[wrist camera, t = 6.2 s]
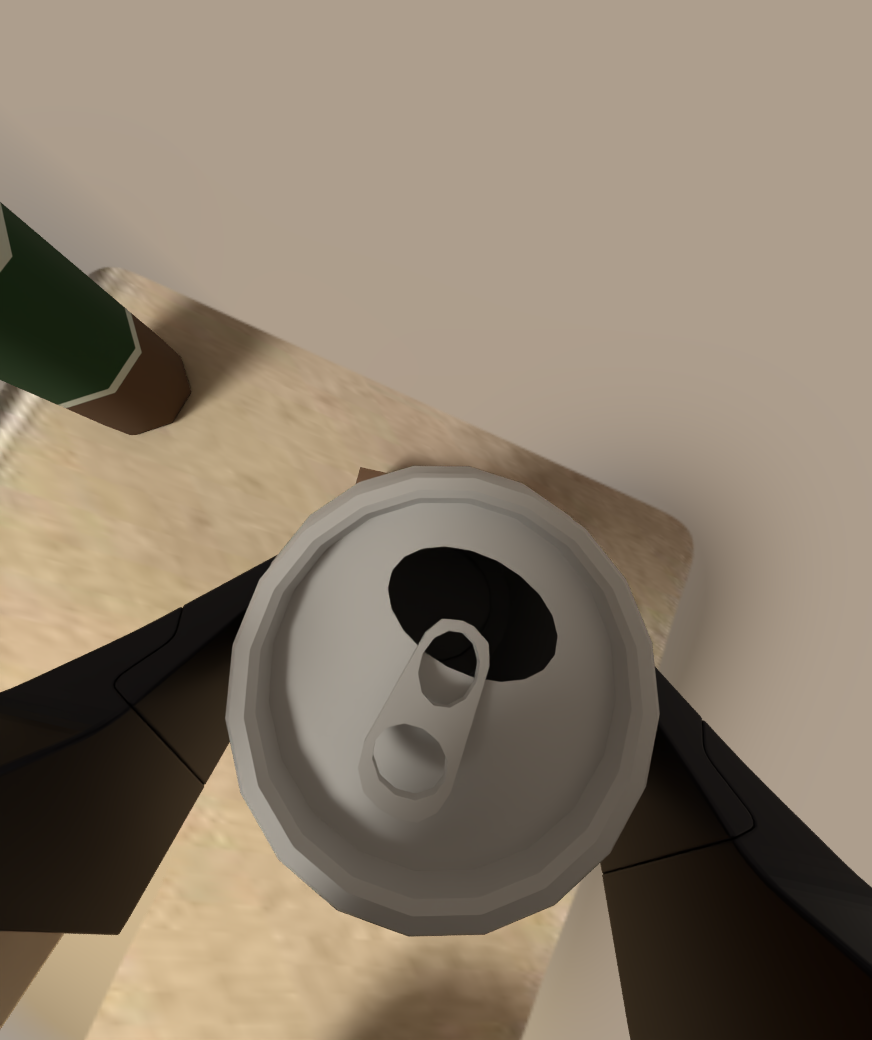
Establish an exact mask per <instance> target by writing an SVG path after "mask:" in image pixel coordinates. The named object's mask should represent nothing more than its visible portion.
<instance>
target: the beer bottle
mask: <svg viewBox="0 0 872 1040" xmlns="http://www.w3.org/2000/svg"><path fill="white" fill-rule="evenodd" d="M0 380H2V381H4V382H6V383H9V384H11V385H13V386H16V387H18V388H20V389H23V390H25V391H27V392H29V393H32V394H34V395H36V396H39V397H41V398H43V399H46V400H48V401H50V402H52V403H55V404H57V405H59V406H62V407H64V408H66V409H69V410H71V411H73V412H75V413H78V414H80V415H82V416H85V417H87V418H89V419H92V420H94V421H96V422H98V423H101V424H103V425H105V426H108V427H111V428H113V429H116V430H119V431H121V432H124V433H127V434H129V435H136V434H139V433H142V432H145V431H149V430H152V429H155V428H158V427H161V426H164V425H167V424H170V423H172V422H173V421H174V419H175V417H176V416H177V414H178V413H179V411H180V409H181V408H182V406H183V404H184V403H185V401H186V400H187V398H188V396H189V395H190V393H191V390H190V387H189V383H188V380H187V376H186V373H185V369H184V366H183V363H182V360H181V357H180V356H179V355H178V354H177V353H176V352H175V351H174V350H173V349H172V348H171V347H170V346H168V345H167V344H166V343H165V342H164V341H163V340H162V339H161V338H160V337H159V336H157V335H156V334H155V333H154V332H153V331H152V330H150V329H149V328H148V327H147V326H146V325H145V324H143V323H142V322H141V321H140V320H139V319H137V318H136V317H135V316H134V315H133V314H132V313H130V312H129V311H128V310H127V309H126V308H125V307H123V306H122V305H121V304H120V303H119V302H117V301H116V300H115V299H114V298H113V297H112V296H110V295H109V294H108V293H107V292H106V291H104V290H103V289H102V288H101V287H100V286H99V285H97V284H96V283H95V282H94V281H93V280H92V279H90V278H89V277H88V276H87V275H86V274H84V273H83V272H82V271H81V270H79V268H77V267H76V266H75V265H74V264H73V263H71V262H70V261H69V260H68V259H67V258H66V257H64V256H63V255H62V254H61V253H60V252H58V251H57V250H56V249H55V248H54V247H53V246H51V245H50V244H49V243H48V242H47V241H46V240H44V239H43V238H42V237H41V236H40V235H39V234H37V233H36V232H35V231H34V230H33V229H31V228H30V227H29V226H28V225H27V224H26V223H24V222H23V221H22V220H21V219H20V218H18V217H17V216H16V215H15V214H14V213H12V212H11V211H10V210H9V209H8V208H7V207H6V206H4V205H3V204H2V203H1V202H0Z"/></svg>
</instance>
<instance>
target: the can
mask: <svg viewBox="0 0 872 1040" xmlns="http://www.w3.org/2000/svg"><path fill="white" fill-rule="evenodd" d="M659 715H660V713H659V703H658V694H657V684H656V674H655V665H654V655H653V646H652V641H651V639H650V636H649V634H648V631H647V629H646V626H645V624H644V622H643V619H642V617H641V614H640V612H639V609H638V607H637V604H636V602H635V600H634V597H633V595H632V592H631V590H630V587H629V585H628V582H627V580H626V579H625V577H624V576H623V575H622V573H621V572H620V571H619V570H618V568H617V567H616V566H615V565H614V563H613V562H612V561H611V560H610V558H609V557H608V556H607V555H606V553H605V552H604V551H603V550H602V548H601V547H600V546H599V545H598V543H597V542H596V541H595V540H594V538H593V537H592V536H591V535H590V533H589V532H588V531H587V530H586V528H584V527H583V526H581V525H580V524H579V523H577V522H576V521H574V520H573V519H572V518H571V517H570V516H569V515H568V514H566V513H565V512H563V511H562V510H561V509H559V508H558V507H556V506H555V505H553V504H552V503H550V502H549V501H548V500H546V499H545V498H543V497H542V496H540V495H539V494H537V493H536V492H535V491H533V490H532V489H530V488H529V487H527V486H526V485H524V484H523V483H520V482H517V481H514V480H511V479H507V478H504V477H501V476H498V475H495V474H492V473H489V472H486V471H482V470H479V469H476V468H473V467H470V466H411V467H408V468H404V469H401V470H398V471H394V472H391V473H388V474H385V475H381V476H378V477H375V478H371V479H368V480H365V481H361V482H358V483H357V484H355V485H354V486H352V487H351V488H350V489H348V490H347V491H345V492H344V493H342V494H341V495H339V496H338V497H336V498H335V499H333V500H332V501H330V502H329V503H327V504H326V505H324V506H323V507H321V508H320V509H318V510H317V511H315V512H314V513H312V514H311V515H310V516H309V517H308V518H307V519H306V521H305V522H304V523H303V524H302V526H301V527H300V528H299V529H298V530H297V532H296V533H295V534H294V535H293V537H292V538H291V539H290V540H289V542H288V543H287V544H286V545H285V546H284V548H283V549H282V550H281V551H280V553H279V554H278V555H277V556H276V558H275V559H274V560H273V561H272V562H271V565H270V567H269V568H268V570H267V571H266V572H265V573H264V575H263V576H262V577H261V578H260V580H259V582H258V584H257V587H256V589H255V592H254V594H253V597H252V599H251V601H250V604H249V606H248V609H247V611H246V613H245V616H244V618H243V621H242V623H241V626H240V628H239V630H238V633H237V635H236V638H235V640H234V643H233V646H232V656H231V666H230V676H229V686H228V696H227V706H226V716H225V719H226V724H227V729H228V734H229V739H230V744H231V749H232V754H233V759H234V763H235V768H236V773H237V778H238V783H239V788H240V793H241V795H242V796H243V798H244V800H245V802H246V803H247V805H248V807H249V809H250V810H251V812H252V814H253V816H254V817H255V819H256V821H257V823H258V824H259V826H260V828H261V830H262V831H263V833H264V835H265V837H266V838H267V840H268V842H269V844H270V845H271V847H272V849H273V851H274V853H275V854H276V856H277V858H278V860H279V861H281V862H282V863H283V864H284V865H285V866H286V867H287V868H289V869H290V870H291V871H292V872H293V873H294V874H296V875H297V876H298V877H299V878H300V879H301V880H303V881H304V882H305V883H306V884H307V885H308V886H309V887H311V888H312V889H313V890H314V891H315V892H316V893H318V894H319V895H320V896H321V897H322V898H323V899H325V900H326V901H327V902H328V903H329V904H330V905H331V906H333V907H334V908H335V909H336V910H338V911H340V912H343V913H346V914H349V915H351V916H354V917H357V918H359V919H362V920H365V921H368V922H370V923H373V924H376V925H379V926H381V927H384V928H387V929H390V930H392V931H395V932H398V933H401V934H403V935H406V936H447V935H485V934H487V933H489V932H492V931H494V930H497V929H499V928H501V927H504V926H506V925H508V924H511V923H513V922H516V921H518V920H520V919H523V918H525V917H527V916H530V915H532V914H535V913H537V912H539V911H542V910H544V909H547V908H549V907H551V906H554V905H555V904H556V903H557V902H558V901H560V900H561V899H562V898H563V897H564V896H565V895H566V894H567V893H568V892H569V891H570V890H571V889H572V888H573V887H575V886H576V885H577V884H578V883H579V882H580V881H581V880H582V879H583V878H584V877H585V876H586V875H587V874H588V873H589V872H591V871H592V870H593V869H594V868H595V867H596V866H597V865H598V864H599V863H600V862H601V861H602V860H603V859H605V858H606V857H607V856H608V855H609V854H610V853H611V851H612V849H613V847H614V845H615V843H616V841H617V840H618V838H619V836H620V834H621V832H622V830H623V828H624V827H625V825H626V823H627V821H628V819H629V817H630V815H631V814H632V812H633V810H634V808H635V806H636V804H637V802H638V800H639V799H640V797H641V795H642V793H643V791H644V789H645V787H646V783H647V778H648V773H649V768H650V762H651V757H652V752H653V746H654V741H655V736H656V731H657V725H658V720H659Z"/></svg>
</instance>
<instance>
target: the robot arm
mask: <svg viewBox="0 0 872 1040" xmlns="http://www.w3.org/2000/svg"><path fill="white" fill-rule="evenodd" d="M276 556H277V555H276ZM276 556H274V557H272V558H271V559H269V560H267V561H265V562H263V563H261V564H259V565H258V566H256V567H254V568H252V569H250V570H248V571H246V572H245V573H243V574H241V575H239V576H237V577H235V578H233V579H232V580H230V581H228V582H226V583H224V584H222V585H221V586H219V587H217V588H215V589H213V590H211V591H209V592H208V593H206V594H204V595H202V596H200V597H198V598H196V599H195V600H193V601H191V602H189V603H187V604H185V605H184V606H183V608H182V607H180V608H178V609H176V610H174V611H172V612H170V613H168V614H167V615H165V616H163V617H161V618H159V619H157V620H155V621H153V622H151V623H149V624H147V625H146V626H144V627H142V628H140V629H138V630H136V631H134V632H132V633H130V634H128V635H125V636H123V637H121V638H119V639H117V640H115V641H113V642H111V643H109V644H107V645H105V646H102V647H100V648H98V649H96V650H94V651H92V652H89V653H87V654H85V655H83V656H81V657H79V658H76V659H74V660H72V661H70V662H68V663H66V664H64V665H61V666H59V667H57V668H55V669H53V670H51V671H48V672H46V673H44V674H42V675H40V676H38V677H35V678H33V679H31V680H29V681H27V682H24V683H22V684H20V685H18V686H15V687H13V688H11V689H8V690H5V691H3V692H0V1029H1V1028H2V1026H3V1025H4V1023H5V1022H6V1020H7V1019H8V1017H9V1016H10V1014H11V1013H12V1011H13V1010H14V1008H15V1007H16V1005H17V1004H18V1002H19V1001H20V999H21V998H22V996H23V995H24V993H25V992H26V990H27V989H28V987H29V986H30V984H31V983H32V981H33V980H34V978H35V977H36V975H37V974H38V972H39V971H40V969H41V968H42V966H43V965H44V963H45V962H46V960H47V959H48V957H49V956H50V954H51V953H52V951H53V950H54V948H55V947H56V945H57V944H58V942H59V941H60V939H61V938H62V936H63V935H64V933H71V934H72V933H73V934H102V935H103V934H104V935H118V934H119V933H120V932H121V930H122V929H123V927H124V925H125V924H126V922H127V921H128V919H129V917H130V916H131V914H132V912H133V910H134V909H135V907H136V905H137V903H138V902H139V900H140V898H141V896H142V895H143V893H144V891H145V889H146V888H147V886H148V884H149V882H150V881H151V879H152V877H153V875H154V874H155V872H156V870H157V868H158V867H159V865H160V863H161V861H162V860H163V858H164V856H165V854H166V852H167V851H168V849H169V847H170V846H171V844H172V842H173V840H174V839H175V837H176V835H177V833H178V832H179V830H180V828H181V826H182V825H183V823H184V821H185V819H186V818H187V816H188V814H189V812H190V811H191V809H192V807H193V805H194V804H195V802H196V800H197V798H198V797H199V795H200V793H201V792H202V790H203V788H204V784H206V782H207V781H208V779H209V777H210V775H211V774H212V772H213V770H214V768H215V767H216V765H217V763H218V761H219V760H220V758H221V756H222V754H223V753H224V751H225V749H226V747H227V746H228V744H229V742H230V739H229V734H228V729H227V724H226V719H225V716H226V706H227V696H228V686H229V676H230V666H231V656H232V646H233V643H234V640H235V638H236V635H237V633H238V630H239V628H240V626H241V623H242V621H243V618H244V616H245V613H246V611H247V609H248V606H249V604H250V601H251V599H252V597H253V594H254V592H255V589H256V587H257V584H258V582H259V580H260V578H261V577H262V576H263V575H264V573H265V572H266V571H267V570H268V568H269V567H270V565H271V562H272V561H273V560H274V559H275V558H276ZM655 674H656V684H657V694H658V703H659V713H660V715H659V720H658V725H657V731H656V736H655V741H654V746H653V752H652V757H651V762H650V768H649V773H648V778H647V783H646V787H645V789H644V791H643V793H642V795H641V797H640V799H639V800H638V802H637V804H636V806H635V808H634V810H633V812H632V814H631V815H630V817H629V819H628V821H627V823H626V825H625V827H624V828H623V830H622V832H621V834H620V836H619V838H618V840H617V841H616V843H615V845H614V847H613V849H612V851H611V853H610V854H609V855H608V856H607V857H606V858H605V859H603V860H602V861H601V862H600V864H601V870H602V873H603V875H602V877H603V882H604V888H605V894H606V900H607V906H608V912H609V917H610V924H611V929H612V935H613V941H614V947H615V953H616V959H617V965H618V971H619V976H620V982H621V988H622V994H623V1000H624V1006H625V1012H626V1017H627V1023H628V1029H629V1034H630V1039H631V1040H872V887H870V886H869V885H868V884H867V883H866V882H865V881H864V880H862V879H861V878H860V877H859V876H858V875H857V874H856V873H855V872H854V871H852V870H851V869H850V868H849V867H848V866H847V865H846V864H845V863H844V862H843V861H842V860H841V859H840V858H839V857H838V856H837V855H836V854H835V853H834V852H833V851H832V850H831V849H830V848H829V847H828V846H827V845H826V844H825V843H824V842H823V841H822V840H821V839H820V838H819V837H818V836H817V835H816V834H815V833H814V832H813V831H811V829H810V828H809V827H808V826H807V825H806V824H805V823H803V822H802V820H801V819H800V818H799V817H797V816H796V815H795V814H794V813H793V812H792V811H791V810H790V809H789V808H788V807H787V806H786V805H785V804H784V803H783V802H782V801H781V800H780V799H779V798H778V797H777V796H776V795H775V794H774V793H773V792H772V791H771V790H770V789H769V788H768V787H767V786H766V785H765V784H764V783H763V782H762V781H761V780H760V779H759V778H758V777H757V776H756V775H755V774H754V773H753V772H752V771H751V770H750V769H749V768H748V767H747V766H746V765H745V764H744V762H743V761H742V760H741V759H740V758H739V757H738V756H737V755H736V754H735V753H734V752H733V751H732V750H731V749H730V748H729V747H728V746H727V744H726V743H725V742H724V741H723V740H722V739H721V738H720V737H719V736H718V735H717V734H716V733H715V732H714V730H713V729H712V728H711V727H710V726H709V725H708V724H707V723H706V722H705V721H703V720H702V718H701V716H700V715H699V714H698V713H697V712H696V711H695V710H694V709H693V708H692V707H691V706H690V704H689V703H688V702H687V701H686V700H685V699H684V698H683V697H682V696H681V695H680V693H679V692H678V691H677V690H676V689H675V688H674V687H673V686H672V685H671V684H670V683H669V681H668V680H667V679H666V678H665V677H664V676H663V675H662V674H661V673H660V672H659V670H658V669H657V668H656V667H655Z"/></svg>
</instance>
